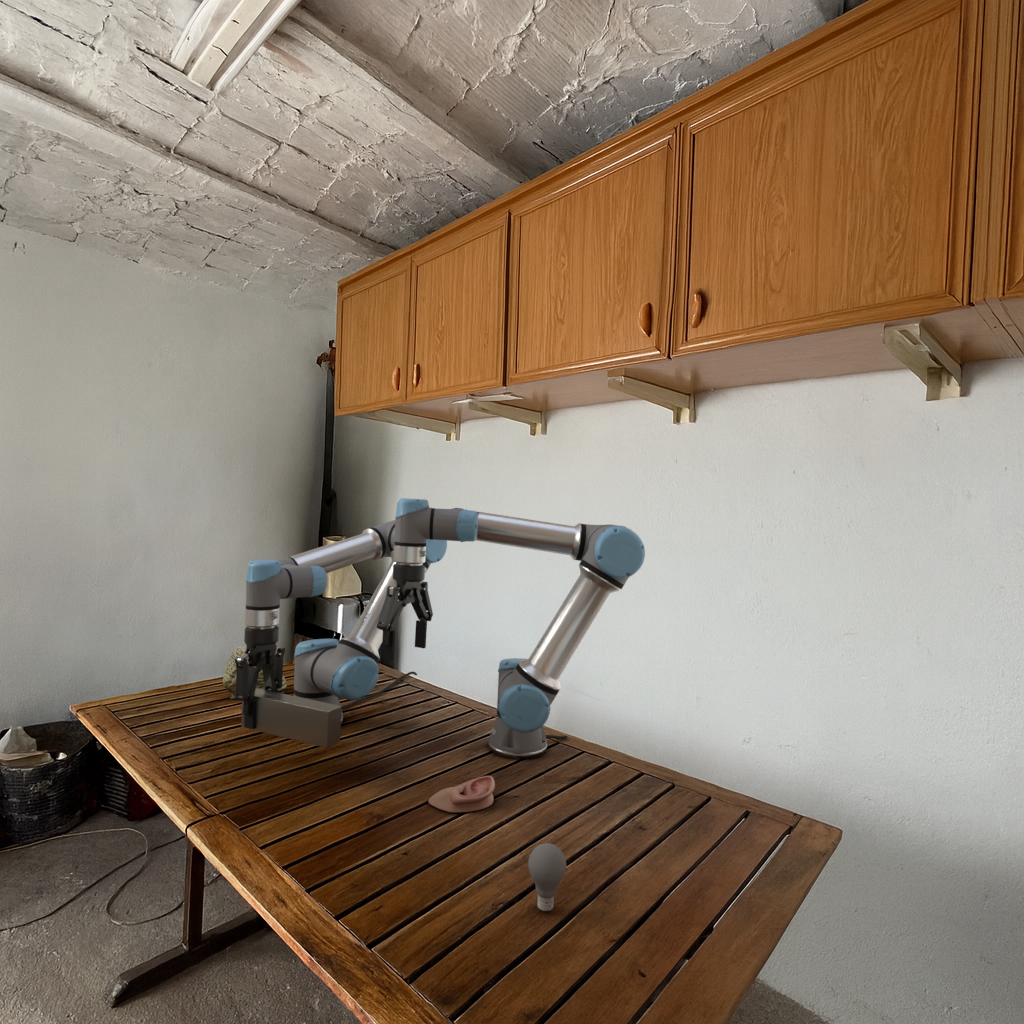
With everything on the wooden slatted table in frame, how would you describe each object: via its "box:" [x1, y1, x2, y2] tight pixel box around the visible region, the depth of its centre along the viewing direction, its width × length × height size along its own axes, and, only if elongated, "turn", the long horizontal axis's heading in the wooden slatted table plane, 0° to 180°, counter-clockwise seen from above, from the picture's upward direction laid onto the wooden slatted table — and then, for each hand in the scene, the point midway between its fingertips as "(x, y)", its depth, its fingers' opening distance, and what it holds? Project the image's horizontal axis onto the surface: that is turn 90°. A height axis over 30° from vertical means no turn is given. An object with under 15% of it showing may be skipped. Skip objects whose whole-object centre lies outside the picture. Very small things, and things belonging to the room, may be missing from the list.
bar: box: [240, 688, 343, 749], centre depth 146 cm, size 25×5×8 cm, turn 66°
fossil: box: [222, 646, 288, 699], centre depth 198 cm, size 9×18×15 cm, turn 132°
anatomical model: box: [427, 775, 496, 813], centre depth 134 cm, size 13×4×12 cm
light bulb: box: [527, 842, 567, 912], centre depth 100 cm, size 6×6×10 cm
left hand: (258, 723), depth 150 cm, fingers closed on bar, 5 cm apart
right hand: (404, 653), depth 150 cm, fingers open, 13 cm apart
